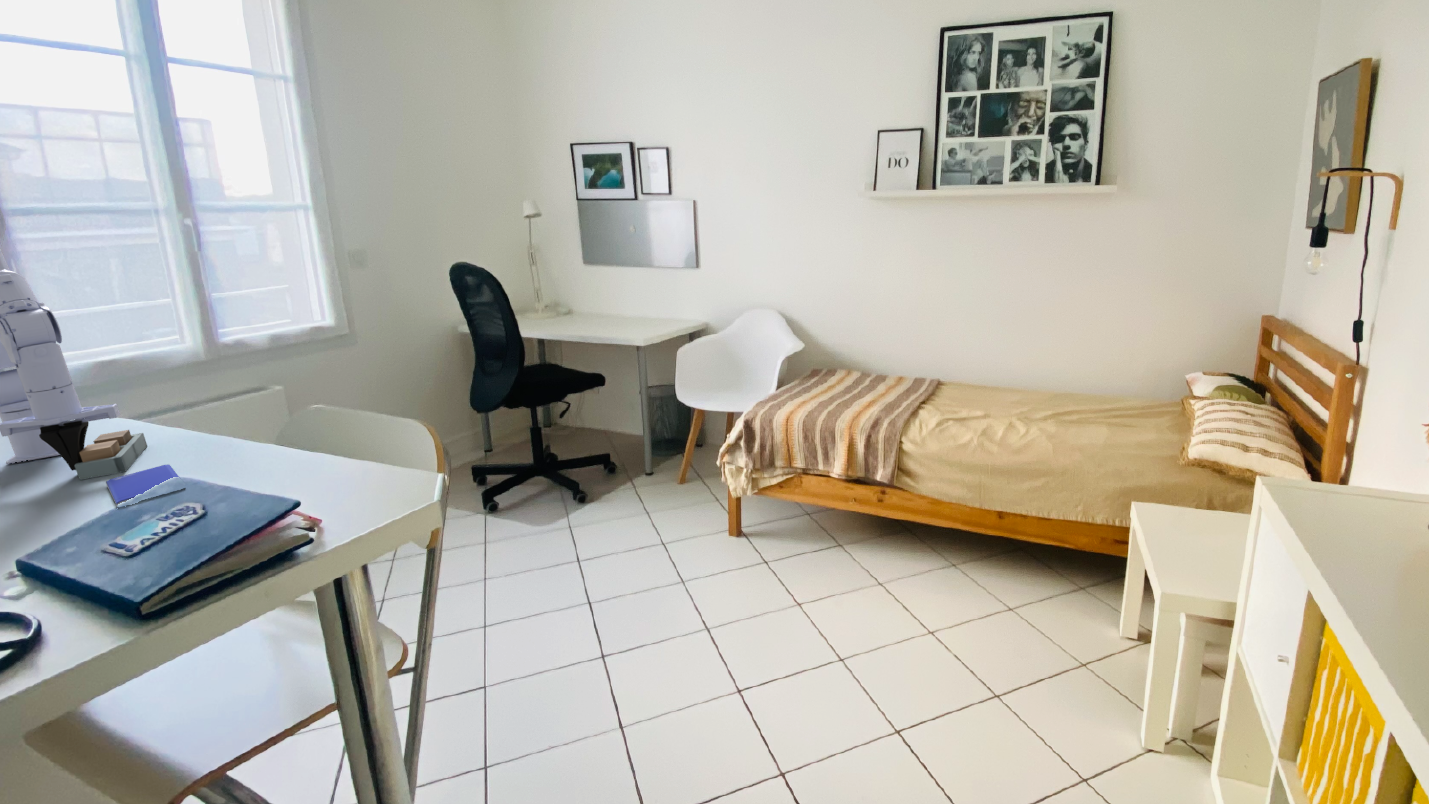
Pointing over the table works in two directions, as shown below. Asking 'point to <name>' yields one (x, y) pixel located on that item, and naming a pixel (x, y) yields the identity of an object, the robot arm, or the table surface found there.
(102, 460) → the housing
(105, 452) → the block
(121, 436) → the seated block
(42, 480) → the table surface
